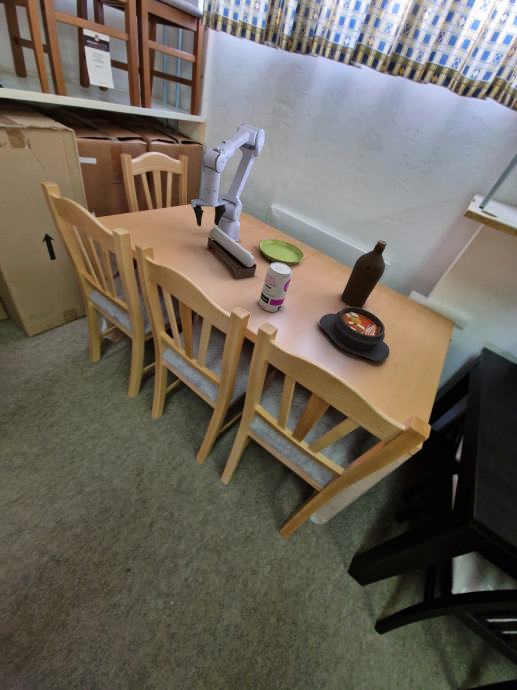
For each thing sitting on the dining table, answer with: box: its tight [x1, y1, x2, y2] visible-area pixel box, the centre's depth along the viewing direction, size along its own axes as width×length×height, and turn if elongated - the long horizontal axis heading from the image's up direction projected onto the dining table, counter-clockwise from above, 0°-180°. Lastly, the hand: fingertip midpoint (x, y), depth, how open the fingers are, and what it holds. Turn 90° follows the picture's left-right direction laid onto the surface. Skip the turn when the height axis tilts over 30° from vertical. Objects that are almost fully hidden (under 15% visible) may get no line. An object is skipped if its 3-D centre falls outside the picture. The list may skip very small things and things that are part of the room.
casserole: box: [318, 306, 390, 362], centre depth 96 cm, size 25×19×8 cm
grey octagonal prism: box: [209, 226, 256, 267], centre depth 115 cm, size 5×5×25 cm
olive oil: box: [340, 239, 388, 309], centre depth 110 cm, size 11×11×25 cm
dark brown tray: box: [206, 236, 258, 280], centre depth 118 cm, size 9×24×5 cm, turn 34°
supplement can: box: [258, 262, 293, 313], centre depth 98 cm, size 8×8×15 cm
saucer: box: [259, 238, 305, 266], centre depth 132 cm, size 21×21×3 cm
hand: (207, 224), depth 117 cm, fingers open, 7 cm apart
